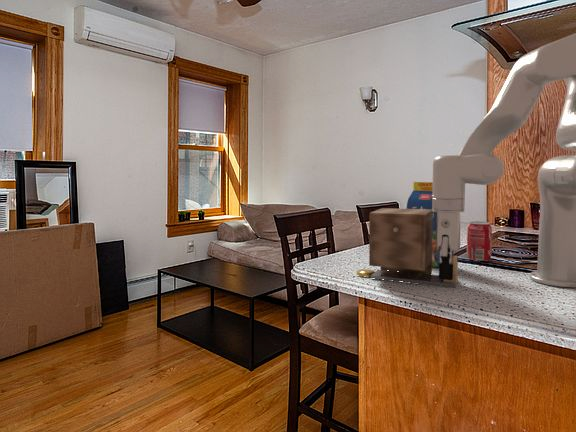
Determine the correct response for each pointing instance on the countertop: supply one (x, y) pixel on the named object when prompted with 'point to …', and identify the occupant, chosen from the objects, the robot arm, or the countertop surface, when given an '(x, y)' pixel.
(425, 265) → the walnut cabinet
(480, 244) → the soda can
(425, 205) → the blue food package
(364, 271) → the brass token
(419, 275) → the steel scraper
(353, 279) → the countertop surface
